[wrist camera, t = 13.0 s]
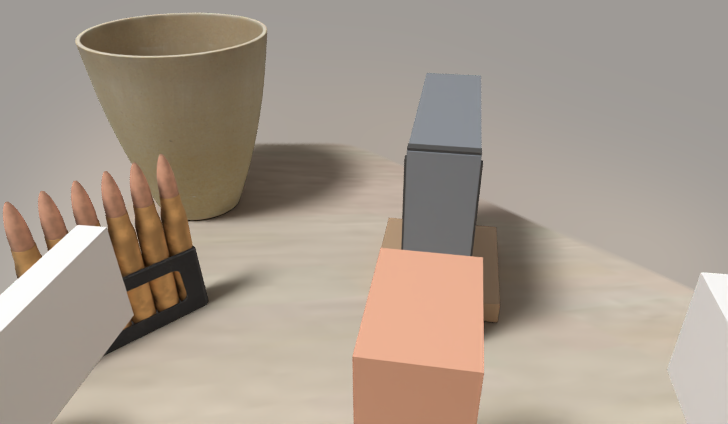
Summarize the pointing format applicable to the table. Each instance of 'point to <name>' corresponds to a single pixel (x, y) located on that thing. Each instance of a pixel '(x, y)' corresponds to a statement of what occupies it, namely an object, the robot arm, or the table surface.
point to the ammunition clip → (128, 247)
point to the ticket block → (447, 181)
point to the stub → (421, 341)
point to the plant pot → (183, 98)
